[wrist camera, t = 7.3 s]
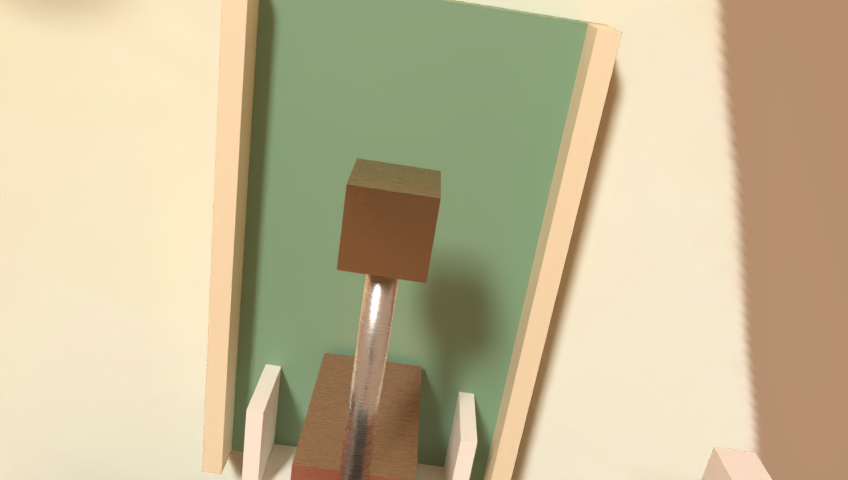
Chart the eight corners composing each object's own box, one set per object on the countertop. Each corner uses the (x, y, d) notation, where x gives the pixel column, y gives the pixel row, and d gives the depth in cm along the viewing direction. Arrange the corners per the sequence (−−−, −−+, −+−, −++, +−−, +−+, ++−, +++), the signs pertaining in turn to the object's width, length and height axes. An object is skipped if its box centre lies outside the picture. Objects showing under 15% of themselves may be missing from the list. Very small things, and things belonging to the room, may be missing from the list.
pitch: (498, 474, 41) (505, 541, 36) (218, 435, 41) (189, 499, 36) (606, 25, 32) (634, 38, 27) (243, -34, 31) (208, -31, 26)
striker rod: (416, 399, 38) (407, 547, 28) (320, 385, 37) (280, 530, 28) (463, 128, 32) (472, 203, 23) (352, 111, 32) (315, 179, 23)
